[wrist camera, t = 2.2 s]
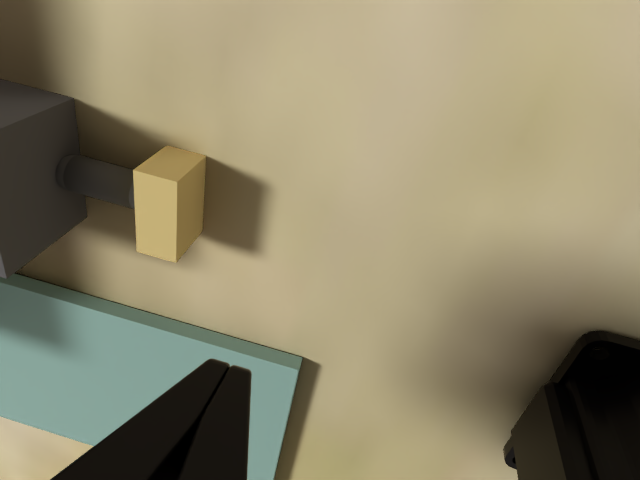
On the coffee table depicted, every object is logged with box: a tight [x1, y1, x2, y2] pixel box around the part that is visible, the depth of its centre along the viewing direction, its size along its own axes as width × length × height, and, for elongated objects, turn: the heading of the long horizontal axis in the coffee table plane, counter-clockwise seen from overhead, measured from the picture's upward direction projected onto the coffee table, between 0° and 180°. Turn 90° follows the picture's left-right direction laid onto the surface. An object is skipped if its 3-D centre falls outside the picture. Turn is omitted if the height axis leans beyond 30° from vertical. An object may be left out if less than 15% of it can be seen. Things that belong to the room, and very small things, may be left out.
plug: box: [0, 79, 206, 279], centre depth 13 cm, size 9×4×4 cm, turn 80°
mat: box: [0, 273, 302, 480], centre depth 20 cm, size 14×9×1 cm, turn 80°
